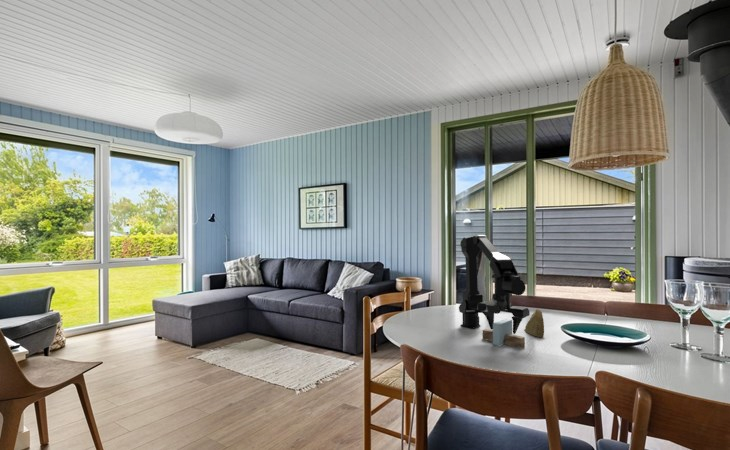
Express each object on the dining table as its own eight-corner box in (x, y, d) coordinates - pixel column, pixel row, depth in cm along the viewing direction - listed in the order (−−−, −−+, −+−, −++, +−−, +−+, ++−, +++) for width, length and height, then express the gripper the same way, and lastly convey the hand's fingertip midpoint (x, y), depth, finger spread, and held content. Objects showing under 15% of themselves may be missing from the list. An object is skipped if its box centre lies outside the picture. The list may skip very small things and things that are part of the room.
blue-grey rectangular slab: (499, 345, 144) (498, 324, 144) (493, 344, 146) (492, 323, 146) (512, 340, 151) (512, 320, 151) (506, 339, 153) (506, 318, 153)
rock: (551, 333, 152) (552, 324, 161) (536, 315, 154) (538, 307, 162) (527, 346, 157) (530, 336, 166) (513, 328, 159) (517, 320, 167)
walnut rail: (482, 338, 154) (482, 329, 154) (485, 337, 155) (485, 328, 155) (521, 347, 142) (521, 338, 142) (524, 346, 143) (524, 337, 143)
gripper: (469, 290, 150) (469, 330, 150) (515, 296, 136) (515, 341, 136) (484, 287, 158) (485, 325, 158) (530, 292, 144) (530, 334, 144)
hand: (502, 331), depth 149 cm, fingers open, 9 cm apart
